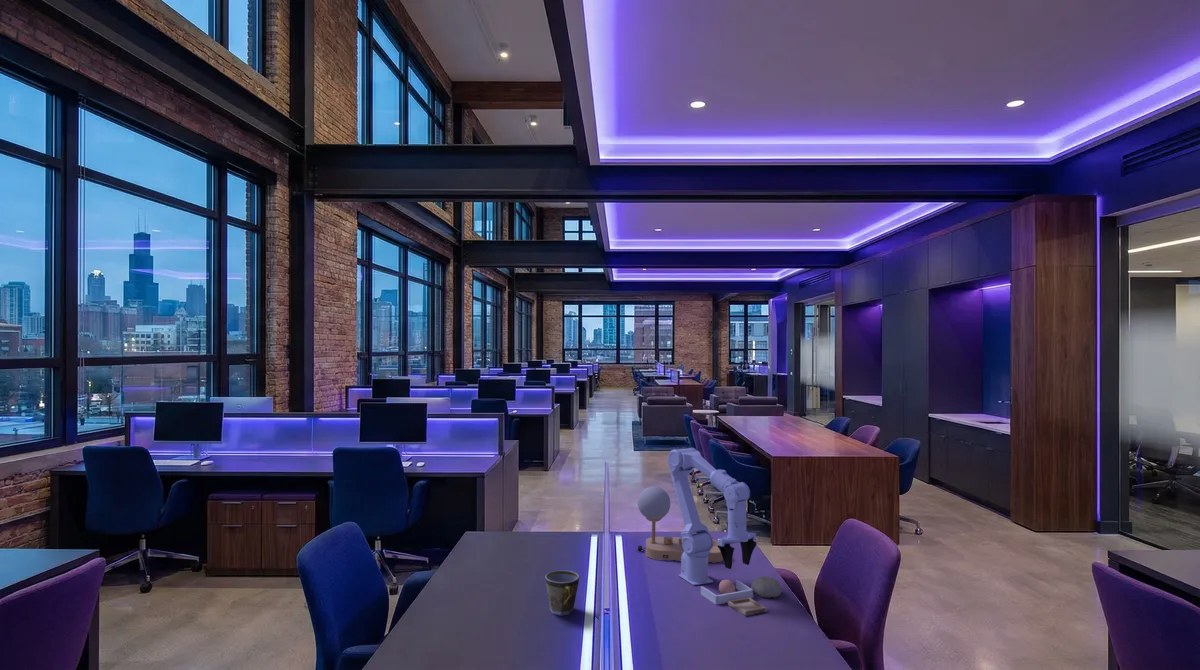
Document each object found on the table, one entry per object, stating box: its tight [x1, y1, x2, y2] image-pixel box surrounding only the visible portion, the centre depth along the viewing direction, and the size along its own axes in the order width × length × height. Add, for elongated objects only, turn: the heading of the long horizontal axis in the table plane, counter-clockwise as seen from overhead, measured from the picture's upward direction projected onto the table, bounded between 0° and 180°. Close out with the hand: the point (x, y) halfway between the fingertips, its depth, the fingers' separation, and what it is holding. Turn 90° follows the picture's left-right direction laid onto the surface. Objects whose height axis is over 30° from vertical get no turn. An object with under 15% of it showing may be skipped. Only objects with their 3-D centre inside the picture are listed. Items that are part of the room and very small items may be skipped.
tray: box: [727, 598, 767, 617], centre depth 176 cm, size 8×8×1 cm
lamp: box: [637, 485, 724, 564], centre depth 225 cm, size 33×17×25 cm, turn 85°
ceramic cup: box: [544, 569, 580, 616], centre depth 171 cm, size 13×10×10 cm
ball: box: [718, 579, 736, 595], centre depth 186 cm, size 5×5×5 cm
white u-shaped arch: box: [700, 579, 755, 605], centre depth 185 cm, size 8×14×2 cm, turn 114°
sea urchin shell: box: [750, 576, 783, 599], centre depth 188 cm, size 9×8×8 cm
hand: (737, 565), depth 184 cm, fingers open, 7 cm apart
